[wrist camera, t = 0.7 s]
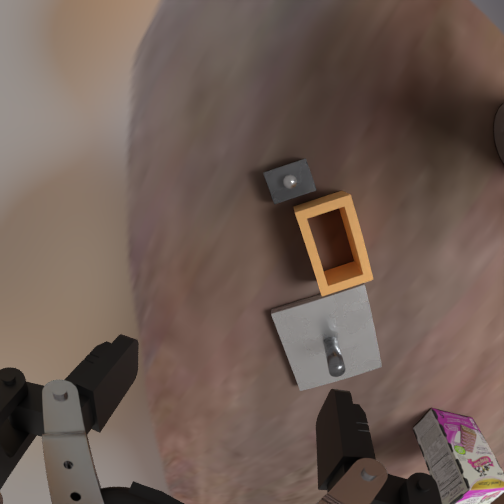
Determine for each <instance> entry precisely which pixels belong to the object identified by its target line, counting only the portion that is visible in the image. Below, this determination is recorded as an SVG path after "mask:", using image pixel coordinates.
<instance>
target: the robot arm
mask: <svg viewBox="0 0 504 504" xmlns="http://www.w3.org/2000/svg"><path fill="white" fill-rule="evenodd" d="M494 138H495V143H496V147H497V150H498V153H499V156H500V158H501V160H502V162H503V163H504V104H502V106H501V107H500V108H499V109H498V111H497V113H496V117H495V121H494ZM137 371H138V340H136V339H133V338H130V337H127V336H125V335H119V336H118V337H117V338H116V339H115V340H114V341H113V343H109V342H104V343H102V344H100V345H98V346H96V347H95V348H94V349H93V351H91V352H90V354H89V355H87V356H86V358H85V359H84V360H83V361H82V362H81V363H80V364H79V365H78V366H77V367H76V368H75V369H74V370H73V371H72V372H71V373H70V375H69V376H68V377H67V378H66V379H65V380H53V381H51V382H49V383H47V384H46V385H45V386H43V385H38V384H34V383H30V382H26V379H25V376H24V374H23V373H22V372H21V371H20V370H18V369H16V368H3V369H1V370H0V489H1V488H2V486H3V485H4V483H5V481H6V480H7V478H8V477H9V475H10V474H11V472H12V471H13V469H14V468H15V466H16V465H17V463H18V462H19V460H20V459H21V457H22V456H23V454H24V453H25V451H26V450H27V449H28V447H29V446H30V444H31V443H32V441H33V440H34V439H35V437H36V436H37V435H38V436H42V444H43V453H44V460H45V467H46V473H47V480H48V486H49V491H50V496H51V501H52V504H184V503H182V502H180V501H178V500H176V499H174V498H173V497H171V496H169V495H167V494H165V493H164V492H162V491H159V490H155V489H153V488H150V487H147V486H144V485H141V484H139V483H136V482H133V483H132V485H131V487H130V488H127V487H107V488H101V486H100V483H99V479H98V476H97V473H96V469H95V465H94V462H93V458H92V454H91V450H90V445H89V441H88V437H87V434H88V432H89V431H90V430H91V429H93V430H96V431H97V432H101V430H102V429H103V427H104V426H105V424H106V423H107V421H108V419H109V418H110V417H111V415H112V414H113V412H114V411H115V409H116V408H117V406H118V405H119V403H120V401H121V400H122V398H123V397H124V396H125V394H126V393H127V391H128V390H129V388H130V386H131V385H132V384H133V382H134V380H135V378H136V375H137ZM367 423H368V422H367V418H366V414H365V412H364V411H363V409H362V408H361V407H360V405H359V404H353V402H352V397H351V393H350V391H344V390H338V389H331V390H330V392H329V394H328V396H327V398H326V400H325V402H324V404H323V406H322V408H321V410H320V412H319V415H318V418H317V422H316V441H317V466H318V489H319V490H327V491H328V493H327V494H326V495H325V496H324V497H323V498H322V499H321V500H320V501H319V502H318V503H317V504H442V501H441V497H440V493H439V489H438V485H437V482H436V481H435V479H434V478H433V477H431V476H430V475H428V474H425V473H415V474H413V475H411V476H410V477H409V478H408V479H404V478H400V477H397V476H393V475H390V474H388V473H387V470H386V468H385V466H384V465H383V464H382V463H380V462H379V461H377V460H376V459H375V454H374V449H373V445H372V440H371V435H370V432H369V426H368V425H367ZM0 504H3V498H2V495H1V493H0Z"/></svg>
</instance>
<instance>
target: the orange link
mask: <svg viewBox="0 0 504 504" xmlns="http://www.w3.org/2000/svg"><path fill="white" fill-rule="evenodd" d="M293 208H294V212H295V215H296V218H297V221H298V224H299V227H300V230H301V233H302V236H303V239H304V242H305V245H306V248H307V251H308V254H309V257H310V260H311V263H312V266H313V270H314V273H315V276H316V279H317V282H318V286H319V289H320V292H321V295H322V296H325V295H328V294H331V293H334V292H337V291H341V290H344V289H347V288H350V287H353V286H356V285H359V284H362V283H365V282H367V281H370V280H373V276H372V272H371V268H370V264H369V260H368V256H367V252H366V248H365V244H364V240H363V236H362V233H361V229H360V225H359V222H358V218H357V215H356V211H355V208H354V205H353V201H352V198H351V195H350V194H348V193H346V192H344V191H339V192H336V193H333V194H330V195H327V196H324V197H321V198H318V199H315V200H312V201H308V202H305V203H302V204H299V205H296V206H293ZM338 208H339V210H340V213H341V217H342V220H343V223H344V227H345V230H346V234H347V237H348V241H349V244H350V248H351V251H352V255H353V259H354V261H353V262H350V263H347V264H344V265H341V266H338V267H335V268H332V269H329V270H326V271H323V268H322V265H321V262H320V258H319V255H318V252H317V249H316V246H315V242H314V239H313V236H312V233H311V230H310V227H309V224H308V221H307V219H308V218H311V217H314V216H317V215H320V214H323V213H326V212H329V211H332V210H335V209H338Z"/></svg>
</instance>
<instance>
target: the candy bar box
mask: <svg viewBox="0 0 504 504" xmlns="http://www.w3.org/2000/svg"><path fill="white" fill-rule="evenodd" d="M413 431H414V433H415V436H416V438H417V441H418V444H419V446H420V449H421V451H422V454H423V457H424V459H425V462H426V465H427V467H428V470H429V473H430V476H431V477H433V478H434V479H435V481H436V482H437V485H438V489H439V493H440V497H441V501H442V504H490V503H492V501H494V500H495V499H497V498H498V497H499V496H500V495H501V494H502V493H504V473H503V471H502V469H501V467H500V465H499V463H498V461H497V460H496V458H495V456H494V454H493V453H492V451H491V449H490V447H489V445H488V444H487V442H486V440H485V438H484V437H483V435H482V433H481V431H480V430H479V428H478V426H477V425H476V423H475V421H474V420H473V418H471V417H466V416H462V415H458V414H454V413H449V412H445V411H441V410H438V409H434V408H431V409H430V410H429V411H428V412H427V413H426V414H425V416H424V417H423V418H422V419H421V420H420V421H419V422H418V423H417V424H416V425H415V426H414V428H413Z"/></svg>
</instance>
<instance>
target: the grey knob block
mask: <svg viewBox="0 0 504 504" xmlns="http://www.w3.org/2000/svg"><path fill="white" fill-rule="evenodd" d="M263 174H264V177H265V179H266V182H267V185H268V188H269V190H270V193H271V196H272V199H273V201H274V204H277V203H280V202H283V201H286V200H289V199H292V198H295V197H298V196H301V195H304V194H307V193H310V192H313V191H316V187H315V184H314V181H313V178H312V175H311V172H310V169H309V166H308V164H307V161H306V159H303V160H300V161H297V162H294V163H291V164H288V165H285V166H282V167H279V168H276V169H273V170H270V171H267V172H264V173H263Z"/></svg>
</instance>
